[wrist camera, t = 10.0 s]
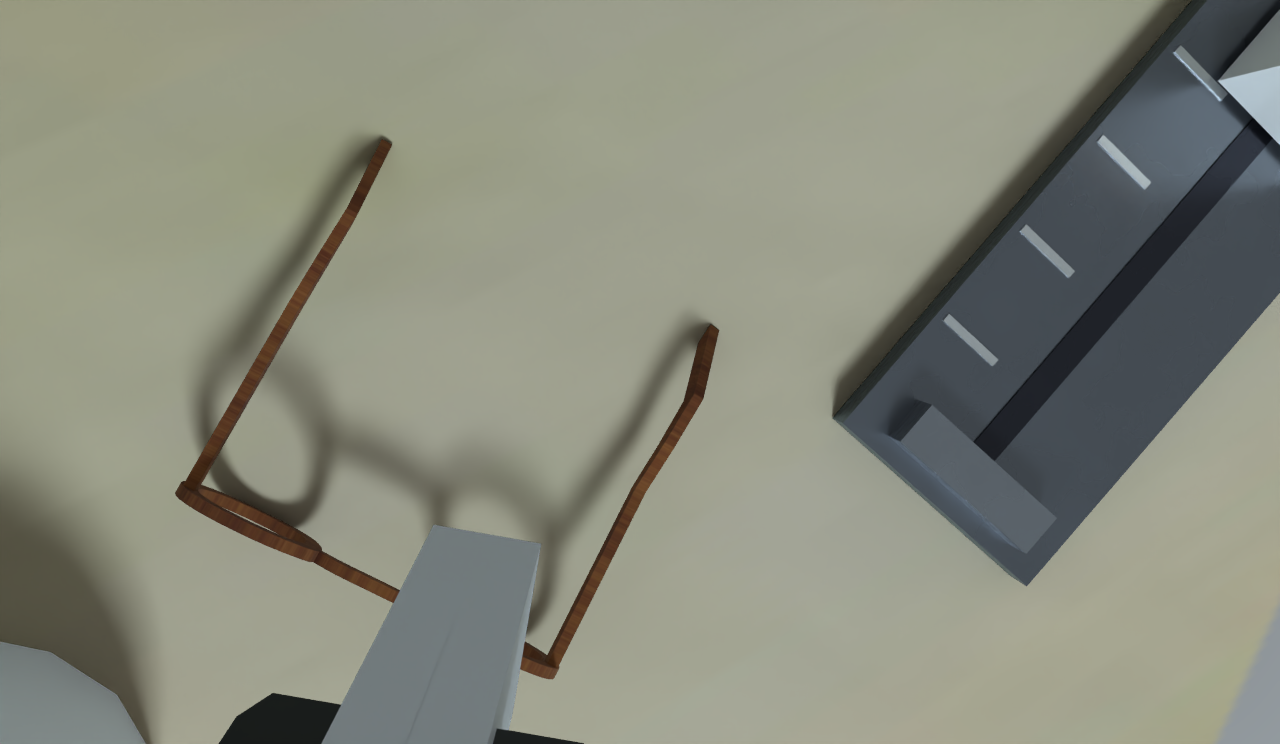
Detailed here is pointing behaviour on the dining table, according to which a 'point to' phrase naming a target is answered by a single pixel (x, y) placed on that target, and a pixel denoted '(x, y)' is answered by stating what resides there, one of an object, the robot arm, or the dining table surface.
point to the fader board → (1089, 304)
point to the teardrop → (57, 703)
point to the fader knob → (1259, 78)
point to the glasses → (311, 551)
